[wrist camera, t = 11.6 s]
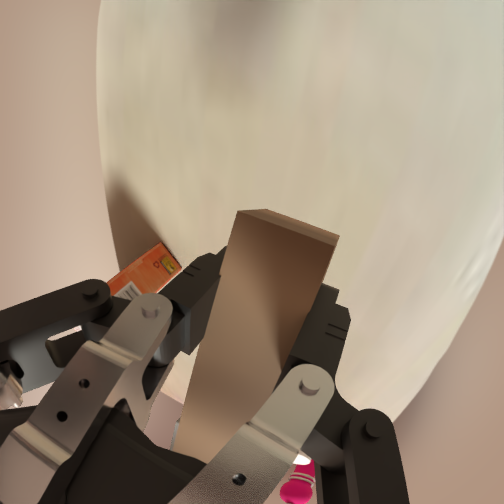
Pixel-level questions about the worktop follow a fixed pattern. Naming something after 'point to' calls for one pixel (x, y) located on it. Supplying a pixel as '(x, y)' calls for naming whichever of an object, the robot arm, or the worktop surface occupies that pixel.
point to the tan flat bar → (251, 325)
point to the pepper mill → (299, 485)
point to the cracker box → (144, 275)
